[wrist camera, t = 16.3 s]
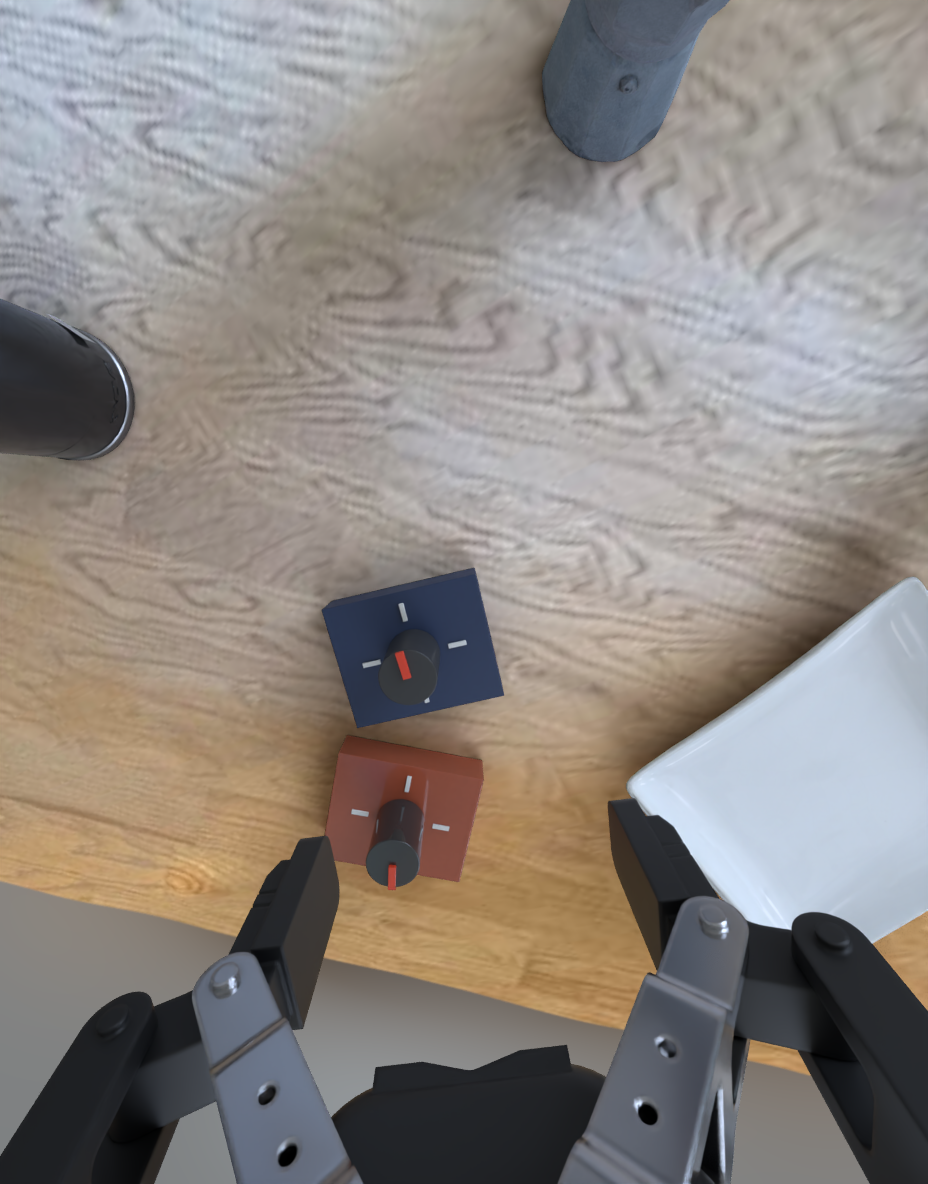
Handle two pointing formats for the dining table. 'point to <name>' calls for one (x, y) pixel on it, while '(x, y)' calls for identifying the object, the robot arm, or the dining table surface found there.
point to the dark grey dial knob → (396, 844)
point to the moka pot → (619, 71)
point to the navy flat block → (424, 605)
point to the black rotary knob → (410, 667)
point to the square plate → (815, 779)
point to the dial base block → (408, 774)
